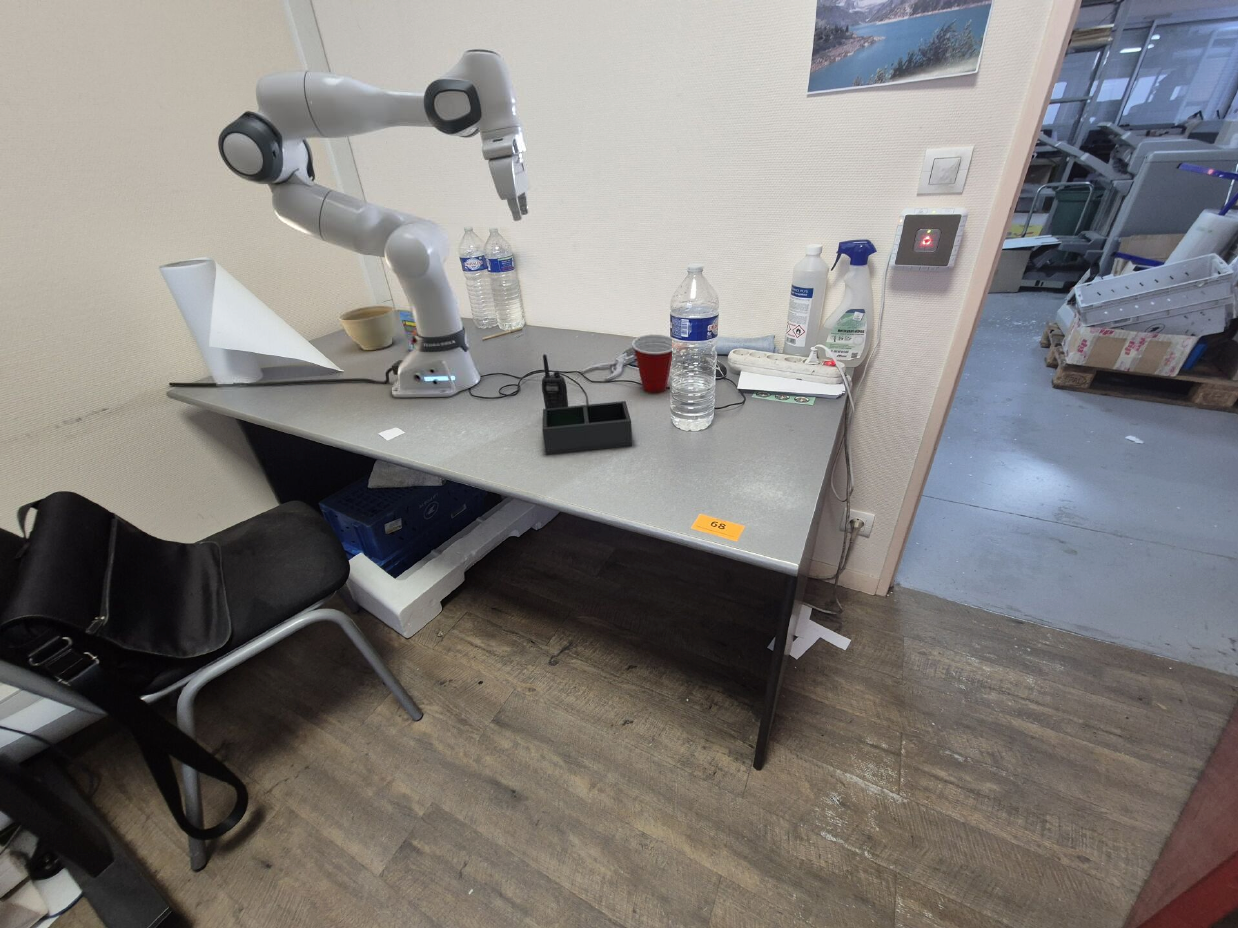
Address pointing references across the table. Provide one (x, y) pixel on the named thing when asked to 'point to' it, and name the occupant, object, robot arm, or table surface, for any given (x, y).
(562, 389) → the two-way radio
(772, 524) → the table surface
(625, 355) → the pliers
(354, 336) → the planter bowl
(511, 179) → the robot arm
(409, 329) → the tape cartridge
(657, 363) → the plastic cup
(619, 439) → the box
